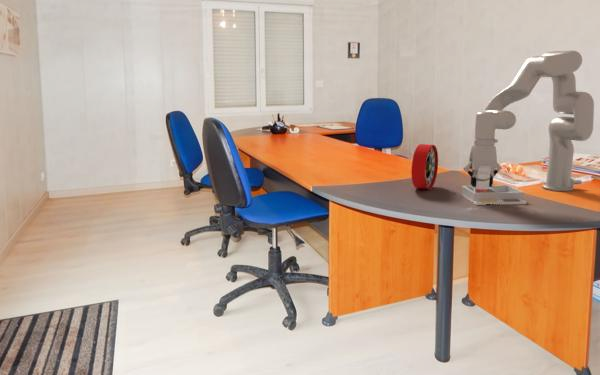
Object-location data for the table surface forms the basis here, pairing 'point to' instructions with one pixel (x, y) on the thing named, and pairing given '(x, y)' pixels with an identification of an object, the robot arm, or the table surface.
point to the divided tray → (494, 195)
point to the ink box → (482, 179)
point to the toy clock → (424, 166)
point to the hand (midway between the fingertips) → (481, 185)
